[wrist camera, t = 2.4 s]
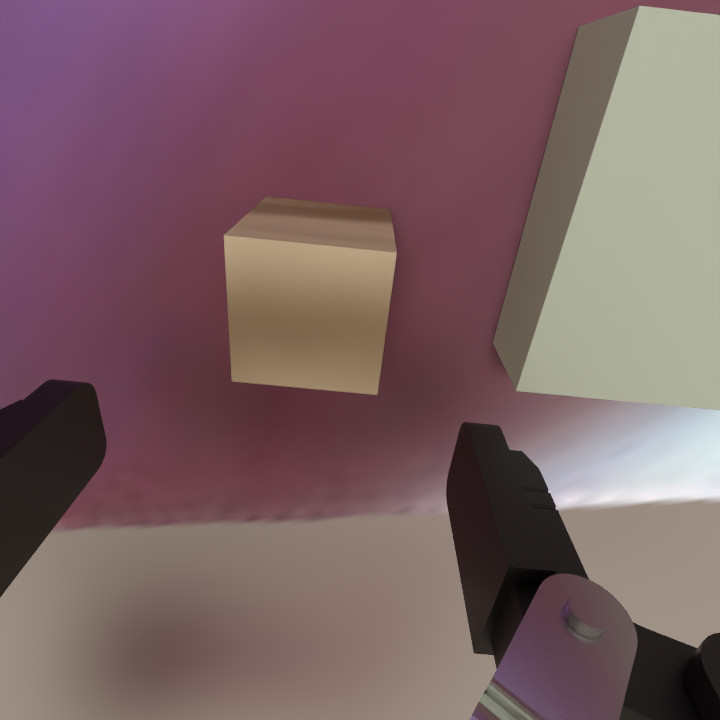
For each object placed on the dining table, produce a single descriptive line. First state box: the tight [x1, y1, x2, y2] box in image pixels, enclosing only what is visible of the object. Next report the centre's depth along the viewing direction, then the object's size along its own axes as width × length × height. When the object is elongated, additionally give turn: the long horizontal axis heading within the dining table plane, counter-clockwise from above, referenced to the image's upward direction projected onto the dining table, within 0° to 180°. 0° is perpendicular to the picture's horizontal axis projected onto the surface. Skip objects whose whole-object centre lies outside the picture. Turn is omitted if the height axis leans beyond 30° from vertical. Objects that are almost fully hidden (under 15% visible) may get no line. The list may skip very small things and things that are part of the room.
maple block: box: [224, 196, 397, 395], centre depth 17 cm, size 5×5×6 cm
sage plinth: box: [493, 6, 720, 410], centre depth 17 cm, size 12×12×4 cm
